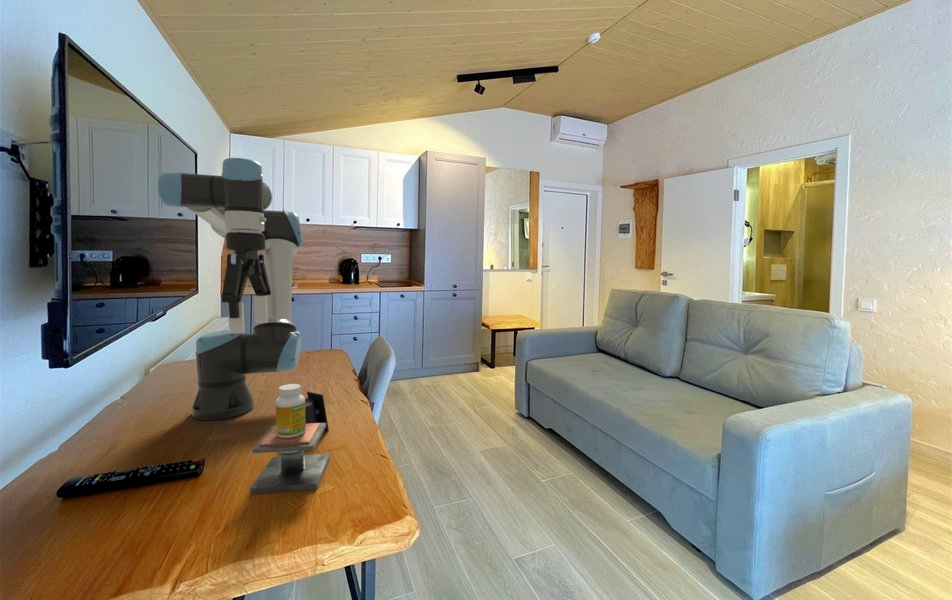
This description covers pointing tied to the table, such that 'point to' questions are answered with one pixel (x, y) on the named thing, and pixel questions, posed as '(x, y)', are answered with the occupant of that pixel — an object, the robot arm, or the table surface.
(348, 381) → the table surface
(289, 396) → the supplement bottle
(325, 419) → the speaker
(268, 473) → the stand
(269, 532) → the table surface
